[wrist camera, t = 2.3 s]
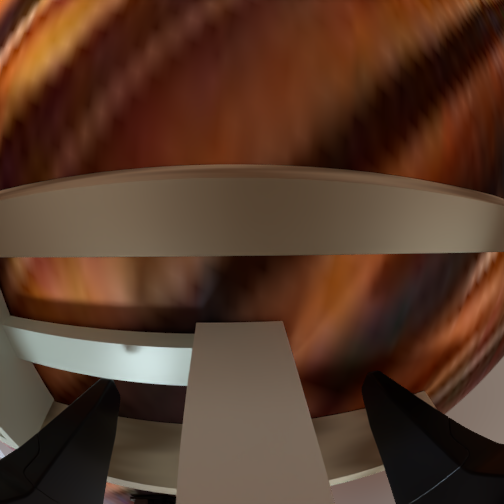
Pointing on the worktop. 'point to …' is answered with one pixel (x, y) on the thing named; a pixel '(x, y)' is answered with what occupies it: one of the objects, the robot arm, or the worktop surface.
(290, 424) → the square frame with handle
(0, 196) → the channel
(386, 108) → the worktop surface
